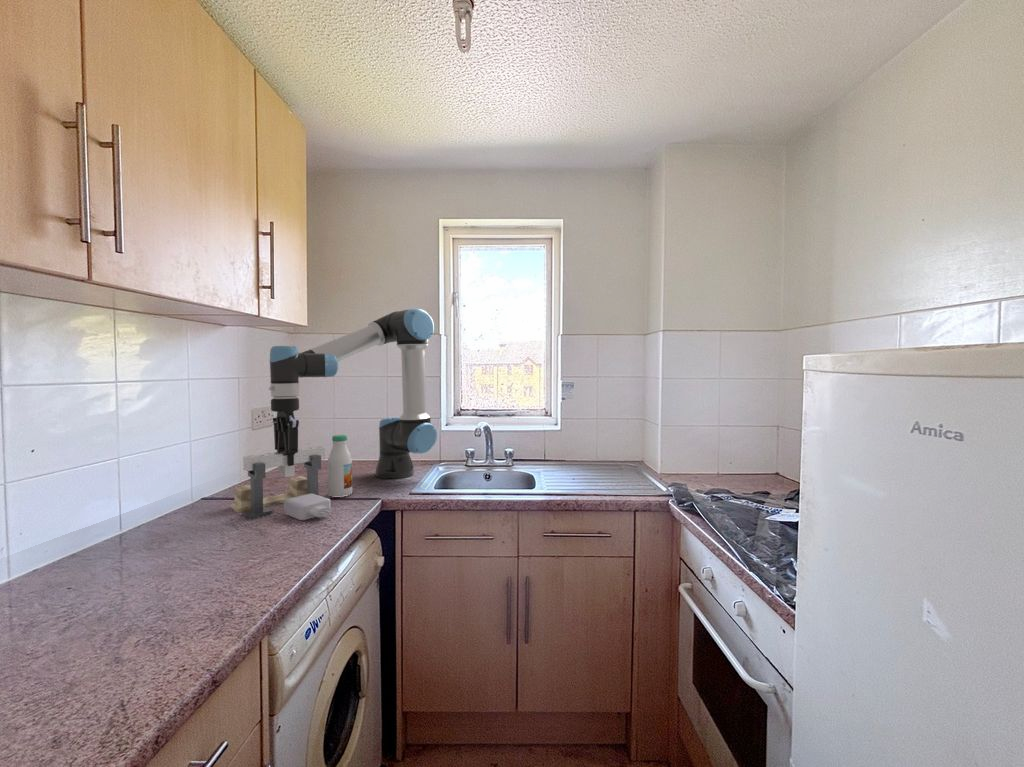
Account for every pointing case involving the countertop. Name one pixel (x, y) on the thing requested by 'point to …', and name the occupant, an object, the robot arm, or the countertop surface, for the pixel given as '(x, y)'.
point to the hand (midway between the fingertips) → (286, 474)
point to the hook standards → (257, 486)
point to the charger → (307, 506)
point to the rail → (281, 458)
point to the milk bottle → (339, 468)
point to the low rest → (244, 497)
